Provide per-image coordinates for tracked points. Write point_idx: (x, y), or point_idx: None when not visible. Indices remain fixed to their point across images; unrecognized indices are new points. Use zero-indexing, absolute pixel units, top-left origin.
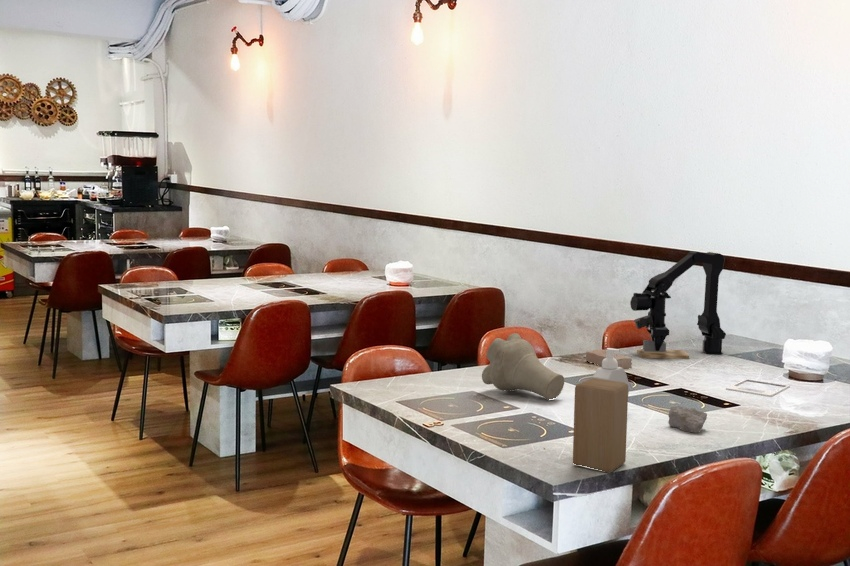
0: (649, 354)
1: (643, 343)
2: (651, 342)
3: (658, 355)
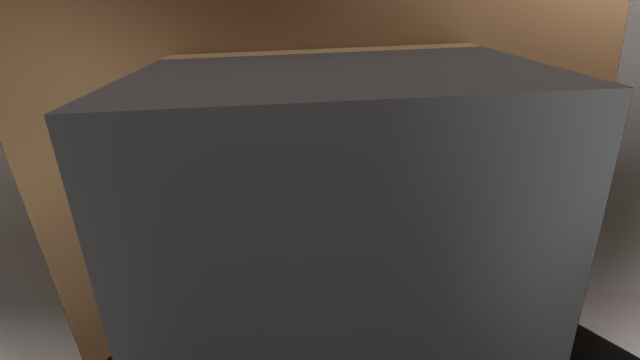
0: (49, 150)
1: (487, 72)
2: (209, 352)
3: (64, 298)
